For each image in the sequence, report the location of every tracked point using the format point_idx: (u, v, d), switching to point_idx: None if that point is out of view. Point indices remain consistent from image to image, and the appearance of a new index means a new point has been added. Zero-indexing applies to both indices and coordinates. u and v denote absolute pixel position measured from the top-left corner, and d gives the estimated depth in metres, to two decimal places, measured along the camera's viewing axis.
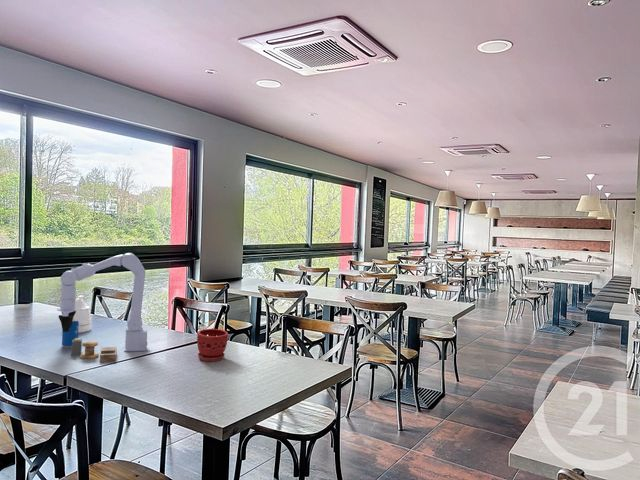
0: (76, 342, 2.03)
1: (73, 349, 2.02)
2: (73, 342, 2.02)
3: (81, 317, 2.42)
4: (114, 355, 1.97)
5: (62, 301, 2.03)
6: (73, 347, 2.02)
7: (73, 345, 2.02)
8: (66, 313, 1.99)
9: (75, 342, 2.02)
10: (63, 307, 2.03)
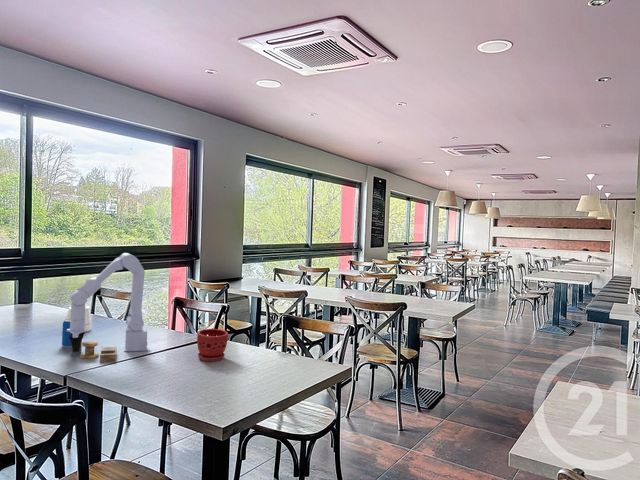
0: None
1: None
2: None
3: None
4: (114, 355, 1.97)
5: (72, 322, 2.01)
6: None
7: None
8: (76, 334, 1.98)
9: None
10: (73, 328, 2.01)
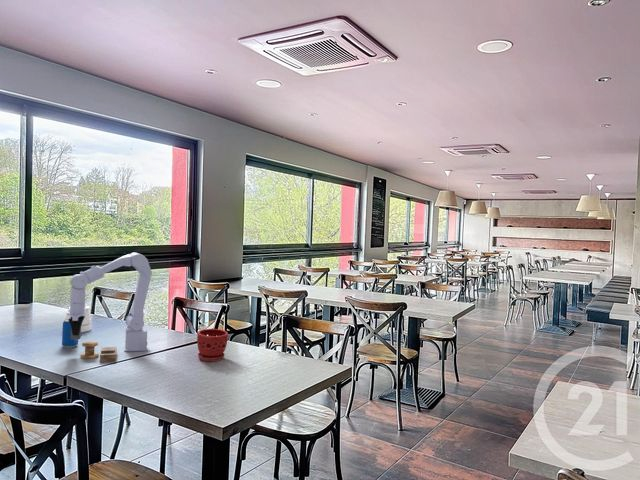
0: None
1: None
2: None
3: None
4: (114, 355, 1.97)
5: (71, 305, 2.00)
6: None
7: None
8: (76, 317, 1.96)
9: None
10: (73, 311, 2.00)
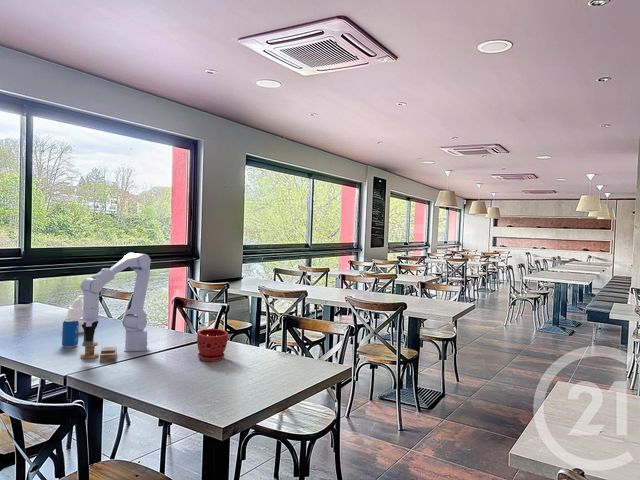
0: None
1: (85, 339, 1.93)
2: None
3: (81, 317, 2.42)
4: (114, 355, 1.97)
5: (85, 310, 1.92)
6: (85, 337, 1.93)
7: None
8: (89, 323, 1.89)
9: None
10: (86, 316, 1.92)
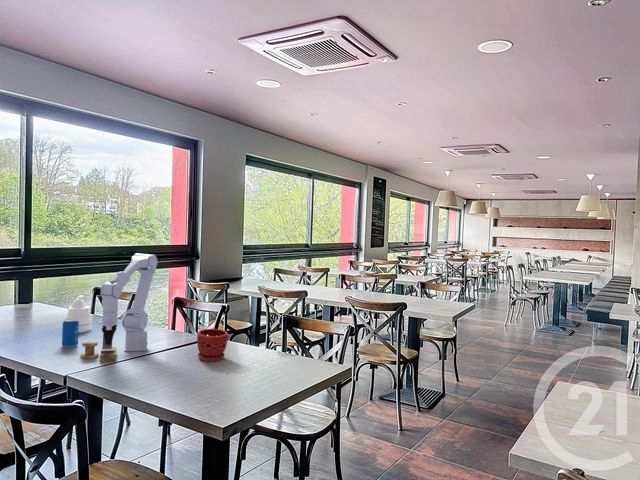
0: None
1: (104, 342, 1.97)
2: None
3: (81, 317, 2.42)
4: (114, 355, 1.97)
5: (104, 314, 1.97)
6: (104, 340, 1.97)
7: (104, 338, 1.97)
8: (109, 327, 1.93)
9: None
10: (106, 320, 1.97)
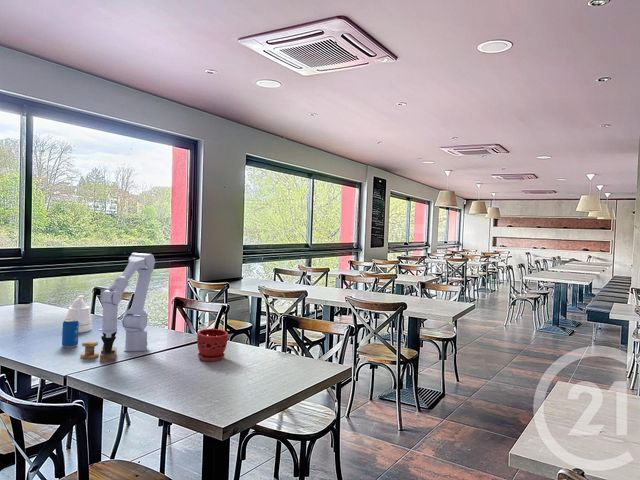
0: None
1: None
2: None
3: (81, 317, 2.42)
4: (114, 355, 1.97)
5: (104, 321, 1.97)
6: (104, 352, 1.98)
7: (104, 350, 1.98)
8: (109, 334, 1.93)
9: None
10: (106, 328, 1.97)
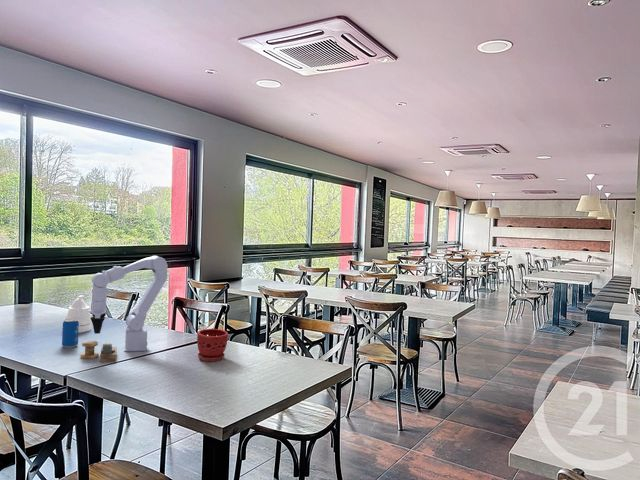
0: (107, 347, 1.98)
1: None
2: (104, 347, 1.97)
3: (81, 317, 2.42)
4: (114, 355, 1.97)
5: (93, 303, 2.05)
6: (104, 352, 1.98)
7: (104, 350, 1.98)
8: (98, 315, 2.01)
9: (106, 347, 1.98)
10: (95, 309, 2.05)
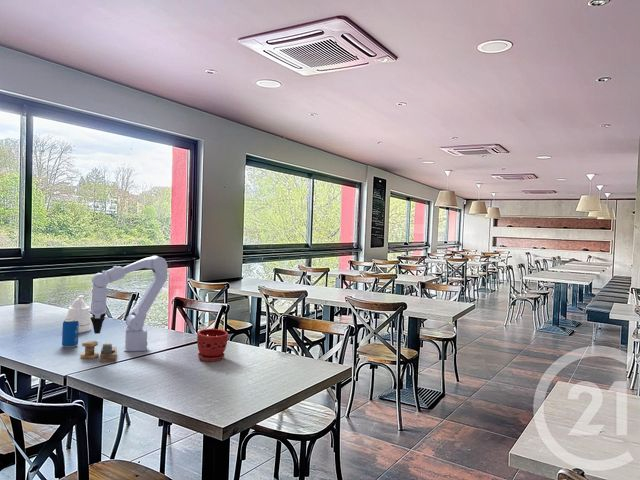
0: (107, 347, 1.98)
1: None
2: (104, 347, 1.97)
3: (81, 317, 2.42)
4: (114, 355, 1.97)
5: (93, 303, 2.05)
6: (104, 352, 1.98)
7: (104, 350, 1.98)
8: (98, 315, 2.01)
9: (106, 347, 1.98)
10: (95, 309, 2.05)
